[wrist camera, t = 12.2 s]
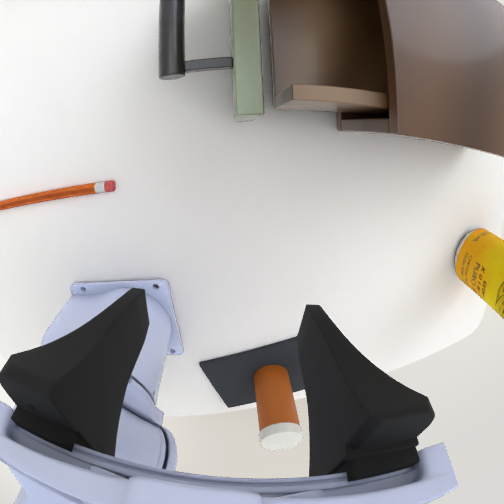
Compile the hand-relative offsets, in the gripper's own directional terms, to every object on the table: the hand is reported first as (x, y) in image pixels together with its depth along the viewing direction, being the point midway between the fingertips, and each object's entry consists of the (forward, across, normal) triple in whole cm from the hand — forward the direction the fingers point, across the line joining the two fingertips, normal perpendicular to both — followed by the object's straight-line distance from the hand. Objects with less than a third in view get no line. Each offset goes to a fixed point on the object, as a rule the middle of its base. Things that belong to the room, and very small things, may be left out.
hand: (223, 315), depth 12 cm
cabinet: (+11, -12, -15) cm, 23 cm away
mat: (+9, -5, +15) cm, 18 cm away
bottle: (+8, -5, +15) cm, 18 cm away
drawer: (+10, -3, -14) cm, 17 cm away
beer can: (+11, -25, 0) cm, 27 cm away
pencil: (+9, +18, -2) cm, 20 cm away
